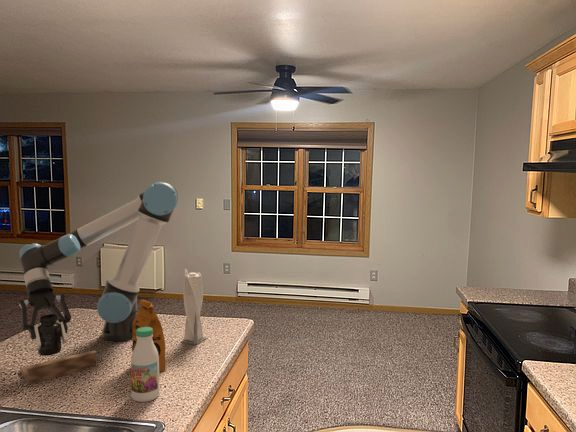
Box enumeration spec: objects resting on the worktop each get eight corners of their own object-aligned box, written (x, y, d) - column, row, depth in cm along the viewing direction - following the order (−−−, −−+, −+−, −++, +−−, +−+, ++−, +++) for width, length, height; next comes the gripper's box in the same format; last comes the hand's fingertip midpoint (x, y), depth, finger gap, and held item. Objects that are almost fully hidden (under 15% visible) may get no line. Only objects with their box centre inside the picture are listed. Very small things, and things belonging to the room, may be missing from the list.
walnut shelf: (85, 355, 157) (84, 341, 156) (96, 366, 148) (96, 351, 147) (20, 371, 144) (19, 356, 143) (28, 384, 135) (28, 368, 134)
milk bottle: (135, 390, 132) (134, 324, 130) (161, 389, 132) (160, 324, 131) (128, 403, 124) (126, 333, 122) (156, 402, 125) (155, 333, 123)
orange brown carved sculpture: (138, 378, 140) (136, 309, 138) (130, 363, 150) (129, 300, 148) (169, 371, 145) (168, 305, 143) (159, 357, 155) (159, 296, 153)
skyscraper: (178, 341, 171) (177, 270, 168) (190, 335, 178) (189, 266, 176) (196, 345, 167) (195, 272, 165) (208, 338, 175) (207, 268, 173)
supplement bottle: (66, 349, 146) (65, 314, 145) (49, 357, 139) (48, 320, 138) (50, 346, 148) (49, 311, 147) (32, 354, 142) (31, 317, 141)
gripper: (67, 286, 160) (82, 342, 149) (3, 294, 147) (15, 357, 136) (71, 274, 156) (87, 331, 145) (6, 282, 143) (18, 346, 132)
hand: (52, 344), depth 141 cm, fingers closed on supplement bottle, 7 cm apart
